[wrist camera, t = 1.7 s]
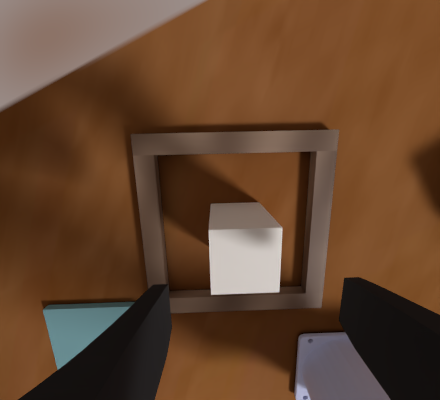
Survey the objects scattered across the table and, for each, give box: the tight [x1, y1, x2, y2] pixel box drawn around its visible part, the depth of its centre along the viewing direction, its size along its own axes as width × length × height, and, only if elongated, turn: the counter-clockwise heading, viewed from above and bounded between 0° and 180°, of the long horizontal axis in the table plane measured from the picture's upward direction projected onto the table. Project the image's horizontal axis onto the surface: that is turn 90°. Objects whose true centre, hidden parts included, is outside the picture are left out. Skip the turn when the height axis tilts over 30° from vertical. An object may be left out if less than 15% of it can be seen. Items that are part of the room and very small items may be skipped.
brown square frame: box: [131, 130, 339, 313], centre depth 17 cm, size 15×15×1 cm
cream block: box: [209, 202, 282, 295], centre depth 14 cm, size 4×4×6 cm
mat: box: [43, 302, 135, 369], centre depth 19 cm, size 8×8×1 cm
